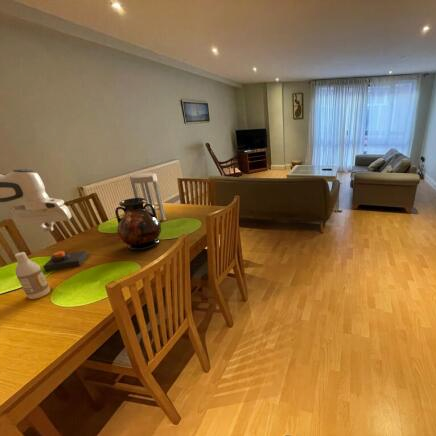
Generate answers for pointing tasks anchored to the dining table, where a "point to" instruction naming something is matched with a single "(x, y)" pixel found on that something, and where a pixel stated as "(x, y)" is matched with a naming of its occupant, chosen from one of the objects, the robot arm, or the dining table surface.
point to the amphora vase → (138, 225)
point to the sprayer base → (66, 261)
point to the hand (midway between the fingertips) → (49, 230)
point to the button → (59, 254)
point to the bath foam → (31, 277)
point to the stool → (148, 191)
